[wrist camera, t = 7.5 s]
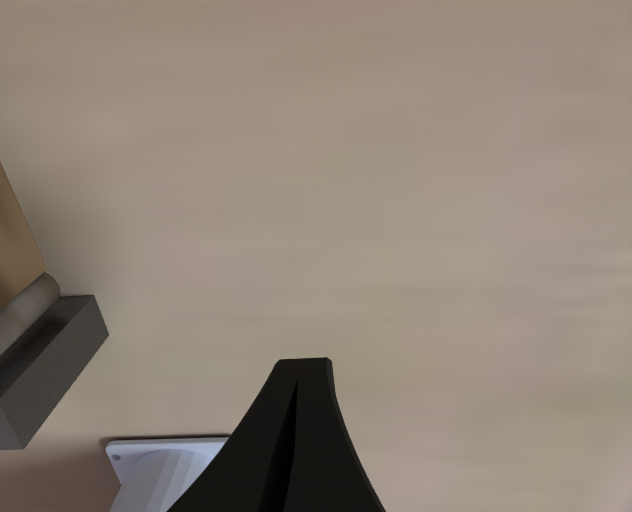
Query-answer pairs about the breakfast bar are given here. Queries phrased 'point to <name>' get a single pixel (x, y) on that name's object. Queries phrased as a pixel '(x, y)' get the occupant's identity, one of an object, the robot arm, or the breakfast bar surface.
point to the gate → (20, 271)
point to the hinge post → (46, 366)
